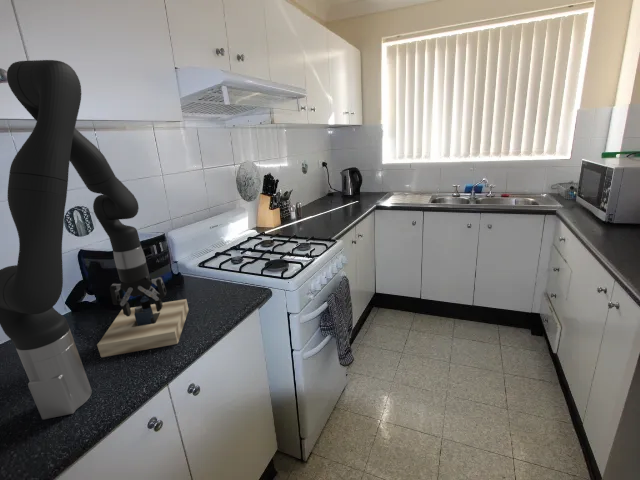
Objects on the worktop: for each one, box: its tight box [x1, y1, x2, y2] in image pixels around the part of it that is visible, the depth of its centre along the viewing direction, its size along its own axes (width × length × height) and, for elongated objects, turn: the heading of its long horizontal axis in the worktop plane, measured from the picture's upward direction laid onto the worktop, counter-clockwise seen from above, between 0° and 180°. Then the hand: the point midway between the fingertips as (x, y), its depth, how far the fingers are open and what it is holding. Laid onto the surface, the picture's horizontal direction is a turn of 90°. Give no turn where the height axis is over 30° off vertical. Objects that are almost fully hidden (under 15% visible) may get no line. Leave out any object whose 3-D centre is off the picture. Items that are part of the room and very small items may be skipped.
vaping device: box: [134, 294, 155, 326], centre depth 101 cm, size 3×5×12 cm, turn 88°
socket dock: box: [96, 298, 190, 358], centre depth 103 cm, size 20×20×4 cm
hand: (144, 312), depth 101 cm, fingers open, 8 cm apart
